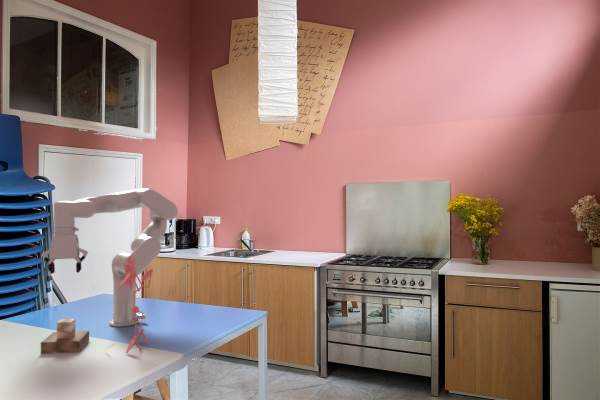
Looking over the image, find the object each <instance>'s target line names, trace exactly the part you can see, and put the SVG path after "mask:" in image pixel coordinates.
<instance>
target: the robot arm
mask: <svg viewBox="0 0 600 400" xmlns="http://www.w3.org/2000/svg"><path fill="white" fill-rule="evenodd" d="M140 208H148V209H149V217H150V219H149V223H148V225H147V226H146V227H145V229H144V230H142V231H141V232H140V233H139V234H138V235H137V236H136V237H135V238H134V239H133V240H132V241H131V244H130V250H131V253H129V252H119V253H117V254H116V255H115V256H114V257H112V261H111V271H112V281H113V284H112V285H113V286H112V287H113V288H112V289H113V290H112V292H113V294H112V301H113V302H112V306H113V307H112V319H111V320H109V322H108V324H109V325H110V326H112V327H130V326H134V325H136V318H137V324H138V323H140V319H141V320H142V313H138V312H137V313H135V316H136V318H135V316H134V313H133V312H132V311H131V309H132V307H133V306H134V295H133V293H134V291H136V290H137V288H136V285H135V283H134V281H133V286H132V288H131V289H130V287H129V284H128V285H127V286H126V285H125V283H126V282H125V283H124V284H123V285H122V286H121V287H120V288H119V289H118V287H119V285H120V283H121V282H122V281H123V279H124V278H125V277H126V272H125V264H127V265H128V257H129V256H130V255H131V260H132V259H133V258H135V266H134V268H135V271H136V274H137V276H139V275H141V274H142V273H144V271H145V270H146V269H147V268H148V267H149V266H150V265H151V264H152V263H153V262H154V261H155V260H156V258H157V257H158V256H159V255H160V253H161V249H162V243H161V242H160V240H161V239H162V238H163V237H164V236H165V234H166V232H167V228H168V221H172V220H174V219H175V218H176V217H177V216H178V212H179V210H178V206H177V205H176V204H175V203H174V202H173V201H171V200H170V199H168V198H166V197H165V196H164V195H163V194H162V193H159V192H158V191H156V190H155V189H152V188H137V189H132V190H131V189H130V190H125V191H120V192H115V193H108V194H104V195H99V196H98V195H97V196H93V197H85V198H81V199H80V198H79V199H76V200H74V201H71V200H59V201H55V202H54V203H53V231H54V233H53V234H52V237H51V242H50V243H51V244H50V248H49V249H47V250H46V251H44V252H41V257H42V258H43V260H44V261H45V262H47V264H48V267H49V270H48V271H49V272H50V274H51V275H52V274H55V273H56V272H55V269H56V267H55V266H56V265H55V264H56V263H54V262H55V260H70V259H71V260H72V259H74V260H75V261H76V263H75V264H76V265H75V271H76V274H77V273H80V272H81V270H82V262H83V261H84V260H85V259H86V258H87V256H88V253H89V251H88V250H85V249H84V248H81V247H80V241H79V235H78V233H76V232H79V228H78V227H76V226H75V225H76V224H75V223H76V222H75V221H76V220H75V219H76V218H77V219H80V218H81V219H88V218H92V217H93V216H94V215H95V214H102V213H103V214H104V213H107V214H108V213H110V214H111V213H114V214H115V213H121V212H125V211H129V210H134V209H140ZM80 253H82V254H83V255H82V256H81V257H80ZM49 254H50V257H49V256H48V255H49ZM135 281H136V282H137V279H135ZM136 301H137V292H135V306H137V302H136ZM145 319H147V315H146V314H145V313H143V320H145Z"/></svg>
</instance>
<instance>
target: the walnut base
mask: <svg viewBox="0 0 600 400" xmlns="http://www.w3.org/2000/svg"><path fill="white" fill-rule="evenodd" d="M88 341H90V330H75V335H74V336H73V337H72V338H63V339H57V331H54V332H52V333H50V334H49V335H48V336H47V337H46V338H44V339H43V340H42V341H41V342H40V354H42V353H44V354H60V353H61V354H62V353H63V354H64V353H65V352H66V354H67V353H80V352H81V350H82V349H83V348H85V346H86V345H87V344H88V343H89V342H88ZM87 342H88V343H87ZM86 343H87V344H86ZM85 344H86V345H85Z"/></svg>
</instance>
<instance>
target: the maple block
mask: <svg viewBox="0 0 600 400" xmlns="http://www.w3.org/2000/svg"><path fill="white" fill-rule="evenodd" d="M75 331H76V318H61V319H59V320H58V321H57V322H56V332H57V339H63V338H72V337H73V336H74V335H75Z"/></svg>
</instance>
